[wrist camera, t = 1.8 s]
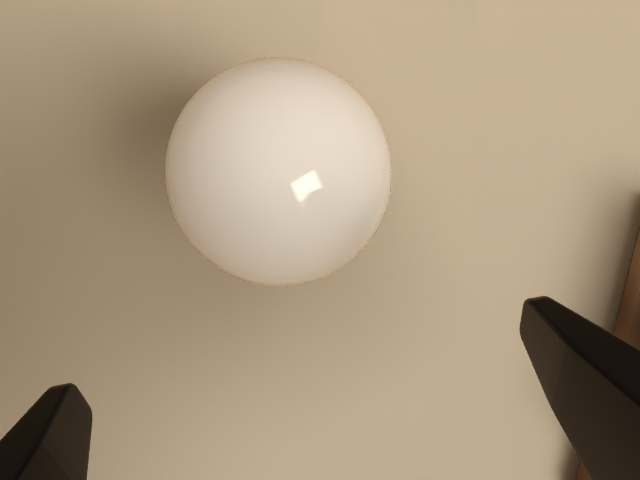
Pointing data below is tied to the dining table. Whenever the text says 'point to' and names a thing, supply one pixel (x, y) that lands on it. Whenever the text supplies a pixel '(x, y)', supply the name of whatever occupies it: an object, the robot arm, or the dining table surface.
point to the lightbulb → (278, 171)
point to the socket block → (626, 318)
